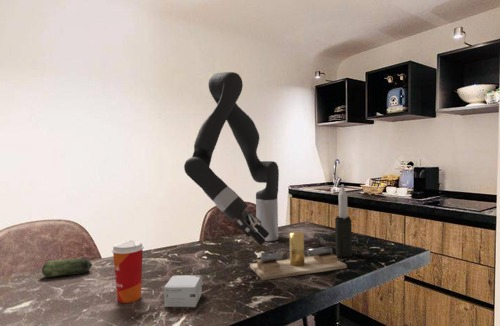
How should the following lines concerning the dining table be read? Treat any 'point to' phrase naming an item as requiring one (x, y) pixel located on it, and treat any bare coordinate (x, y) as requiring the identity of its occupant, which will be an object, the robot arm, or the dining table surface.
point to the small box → (183, 291)
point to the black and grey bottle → (343, 227)
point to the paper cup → (128, 270)
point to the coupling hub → (297, 248)
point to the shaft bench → (285, 269)
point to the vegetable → (66, 267)
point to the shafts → (284, 256)
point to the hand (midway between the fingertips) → (265, 239)
